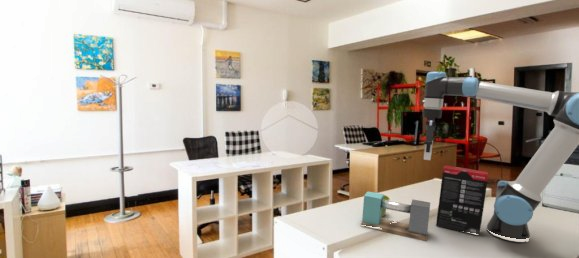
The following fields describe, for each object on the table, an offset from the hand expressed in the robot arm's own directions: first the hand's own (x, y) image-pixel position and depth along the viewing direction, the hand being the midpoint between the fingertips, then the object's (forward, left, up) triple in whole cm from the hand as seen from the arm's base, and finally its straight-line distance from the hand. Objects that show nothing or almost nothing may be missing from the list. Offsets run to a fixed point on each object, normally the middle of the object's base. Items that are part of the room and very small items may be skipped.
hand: (427, 157), depth 139 cm
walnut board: (+10, +12, -31) cm, 34 cm away
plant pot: (+19, -1, -31) cm, 36 cm away
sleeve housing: (+1, +12, -29) cm, 32 cm away
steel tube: (+11, +12, -22) cm, 28 cm away
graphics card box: (-15, -3, -31) cm, 35 cm away
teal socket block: (+20, +12, -29) cm, 37 cm away
